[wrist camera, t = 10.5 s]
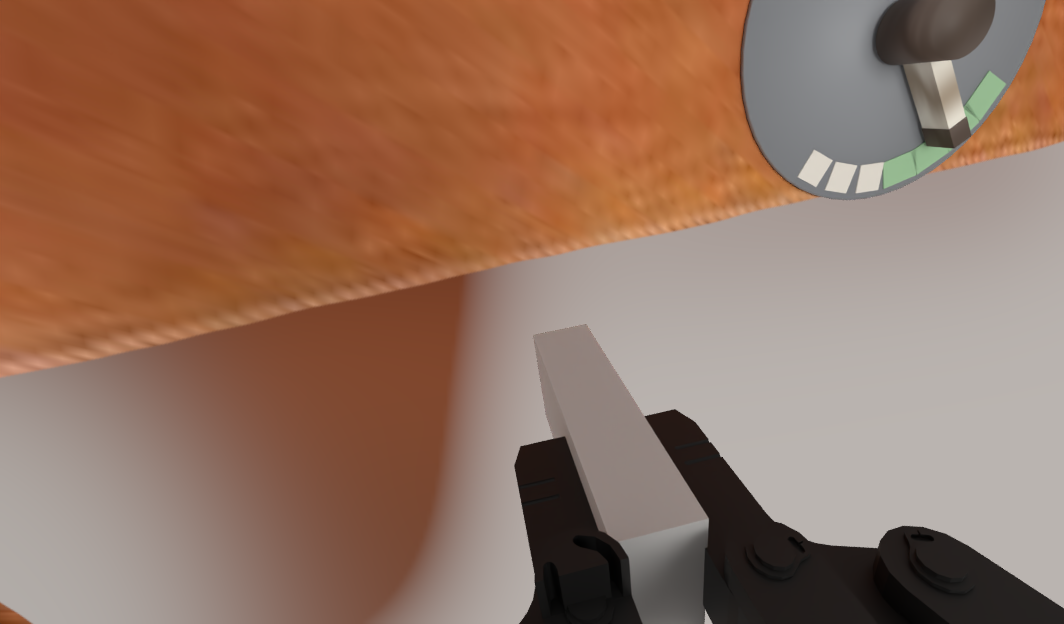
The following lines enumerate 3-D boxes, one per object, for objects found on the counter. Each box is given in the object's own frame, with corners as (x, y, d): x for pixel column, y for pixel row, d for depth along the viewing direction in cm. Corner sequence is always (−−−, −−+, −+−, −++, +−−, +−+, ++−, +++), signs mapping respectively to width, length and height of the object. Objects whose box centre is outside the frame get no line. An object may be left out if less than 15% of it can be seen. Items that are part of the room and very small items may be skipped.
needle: (867, 24, 37) (925, 13, 33) (921, -19, 37) (988, -37, 32) (911, 158, 43) (965, 164, 39) (958, 122, 42) (1020, 124, 38)
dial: (684, -21, 35) (688, -23, 34) (1025, -297, 31) (1035, -304, 31) (805, 255, 47) (809, 257, 46) (1061, 75, 43) (1069, 75, 43)
